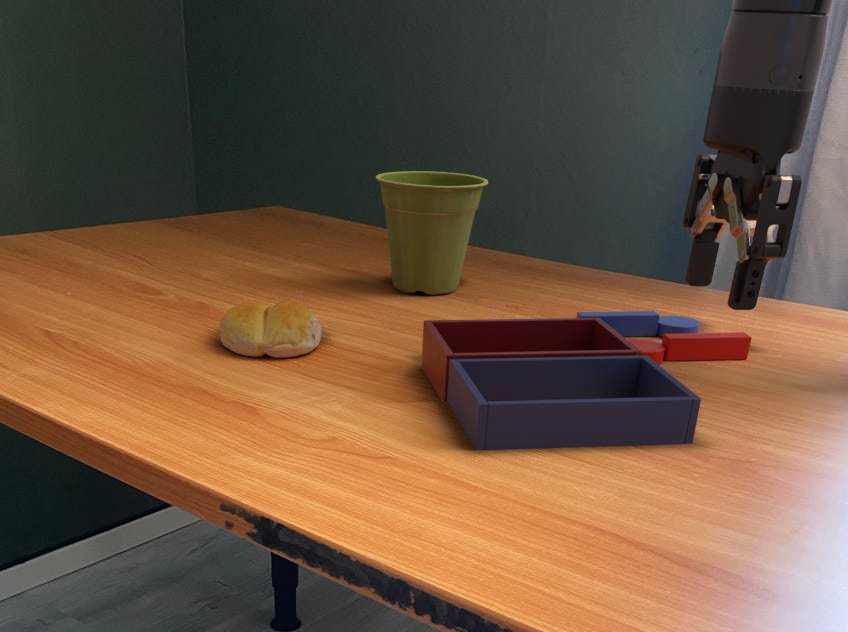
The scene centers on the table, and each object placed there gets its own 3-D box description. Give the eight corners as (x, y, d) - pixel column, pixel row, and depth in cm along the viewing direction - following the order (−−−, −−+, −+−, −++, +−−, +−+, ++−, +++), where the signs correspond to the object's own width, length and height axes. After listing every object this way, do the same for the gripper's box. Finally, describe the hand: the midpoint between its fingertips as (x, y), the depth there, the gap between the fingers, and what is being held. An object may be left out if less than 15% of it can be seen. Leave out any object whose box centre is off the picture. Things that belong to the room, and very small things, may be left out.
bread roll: (234, 332, 93) (232, 288, 91) (327, 338, 92) (327, 294, 90) (206, 356, 87) (203, 309, 84) (306, 363, 85) (306, 316, 83)
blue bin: (638, 406, 77) (647, 355, 75) (690, 455, 68) (701, 398, 66) (446, 411, 75) (449, 359, 73) (475, 462, 67) (479, 404, 65)
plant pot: (446, 306, 103) (453, 189, 97) (352, 290, 109) (353, 178, 103) (499, 286, 111) (508, 177, 106) (409, 272, 117) (413, 167, 111)
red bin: (593, 364, 86) (599, 317, 84) (634, 402, 78) (642, 351, 76) (421, 367, 85) (423, 320, 83) (443, 407, 76) (446, 355, 74)
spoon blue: (583, 341, 93) (586, 319, 92) (570, 329, 96) (572, 308, 95) (704, 339, 94) (709, 317, 93) (687, 327, 98) (691, 306, 96)
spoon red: (733, 350, 91) (737, 328, 90) (753, 363, 87) (758, 340, 86) (608, 352, 90) (611, 330, 89) (623, 366, 86) (627, 343, 85)
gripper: (859, 89, 72) (799, 318, 80) (765, 78, 84) (722, 278, 92) (762, 86, 71) (712, 318, 79) (681, 75, 83) (645, 278, 91)
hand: (718, 296), depth 86 cm, fingers open, 8 cm apart
